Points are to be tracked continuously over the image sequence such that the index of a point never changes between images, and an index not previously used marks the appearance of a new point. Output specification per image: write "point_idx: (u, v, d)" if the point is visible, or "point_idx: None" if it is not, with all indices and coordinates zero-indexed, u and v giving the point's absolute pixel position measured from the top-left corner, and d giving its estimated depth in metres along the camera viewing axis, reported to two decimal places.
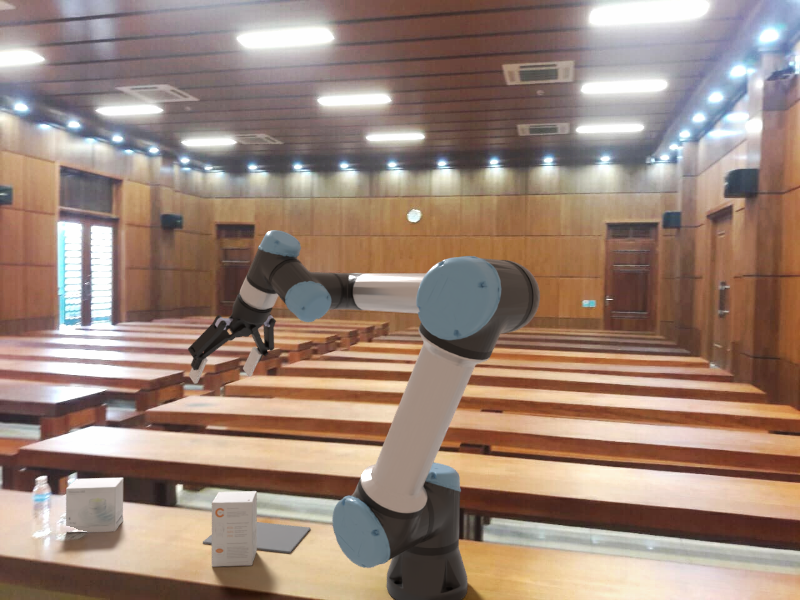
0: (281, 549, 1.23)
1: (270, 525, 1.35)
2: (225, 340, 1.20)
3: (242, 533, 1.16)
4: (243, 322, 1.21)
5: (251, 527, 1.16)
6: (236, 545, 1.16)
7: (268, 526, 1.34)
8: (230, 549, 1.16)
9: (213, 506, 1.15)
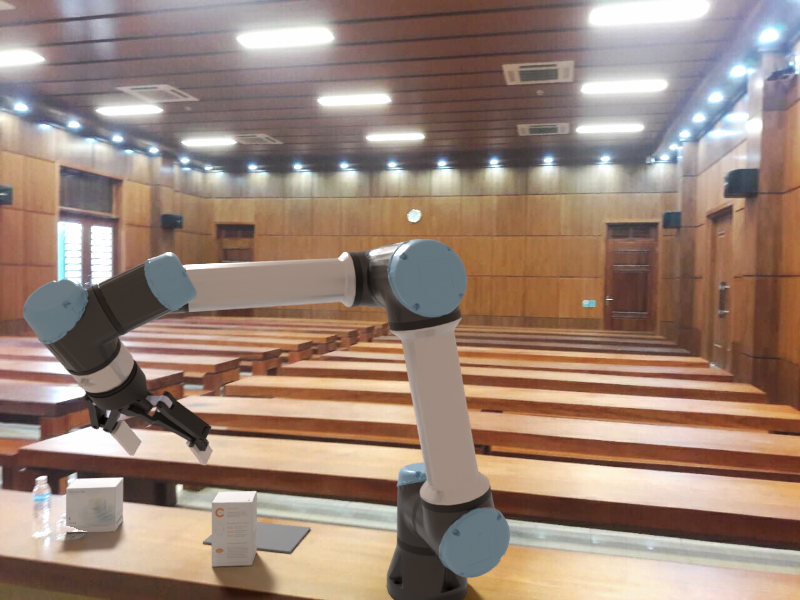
0: (281, 549, 1.23)
1: (270, 525, 1.35)
2: None
3: (242, 533, 1.16)
4: None
5: (251, 527, 1.16)
6: (236, 545, 1.16)
7: (268, 526, 1.34)
8: (230, 549, 1.16)
9: (213, 506, 1.15)
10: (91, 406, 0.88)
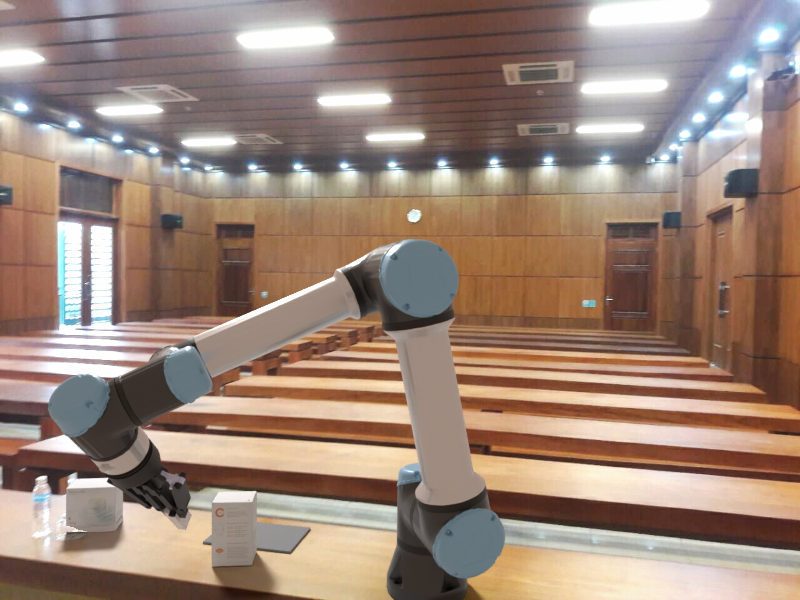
0: (281, 549, 1.23)
1: (270, 525, 1.35)
2: None
3: (242, 533, 1.16)
4: None
5: (251, 527, 1.16)
6: (236, 545, 1.16)
7: (268, 526, 1.34)
8: (230, 549, 1.16)
9: (213, 506, 1.15)
10: (121, 488, 0.92)
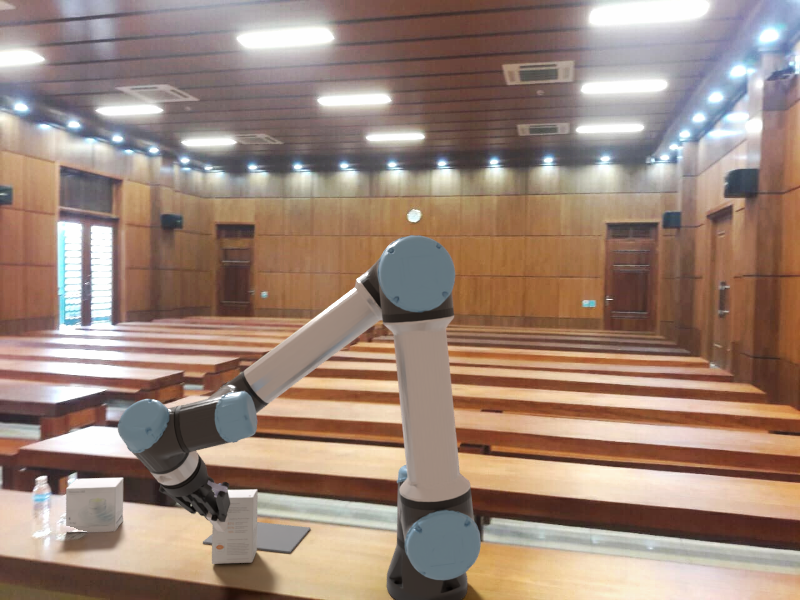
0: (281, 549, 1.23)
1: (270, 525, 1.35)
2: None
3: (242, 529, 1.17)
4: None
5: (252, 523, 1.17)
6: (237, 542, 1.16)
7: (268, 526, 1.34)
8: (230, 546, 1.16)
9: None
10: (170, 495, 1.05)
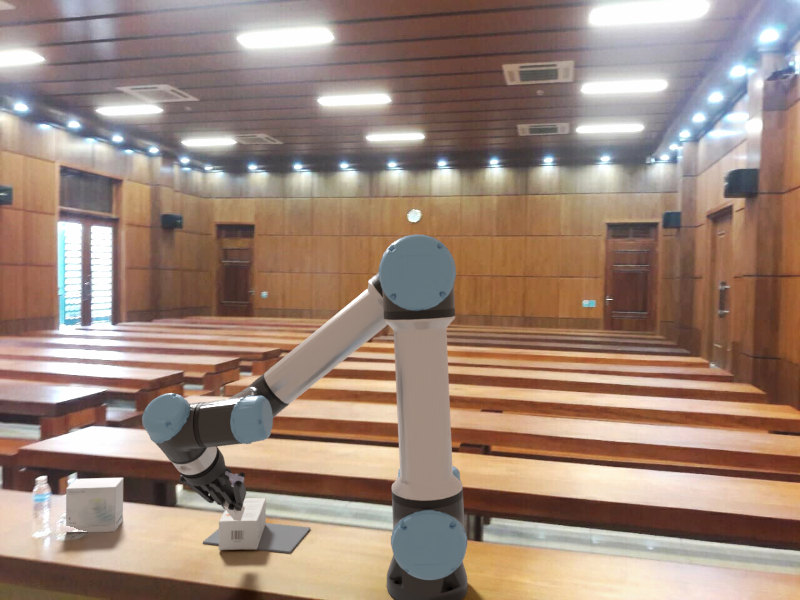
0: (281, 549, 1.23)
1: (270, 525, 1.35)
2: None
3: (252, 508, 1.29)
4: None
5: (261, 506, 1.30)
6: (246, 513, 1.26)
7: (268, 526, 1.34)
8: None
9: None
10: (190, 485, 1.11)
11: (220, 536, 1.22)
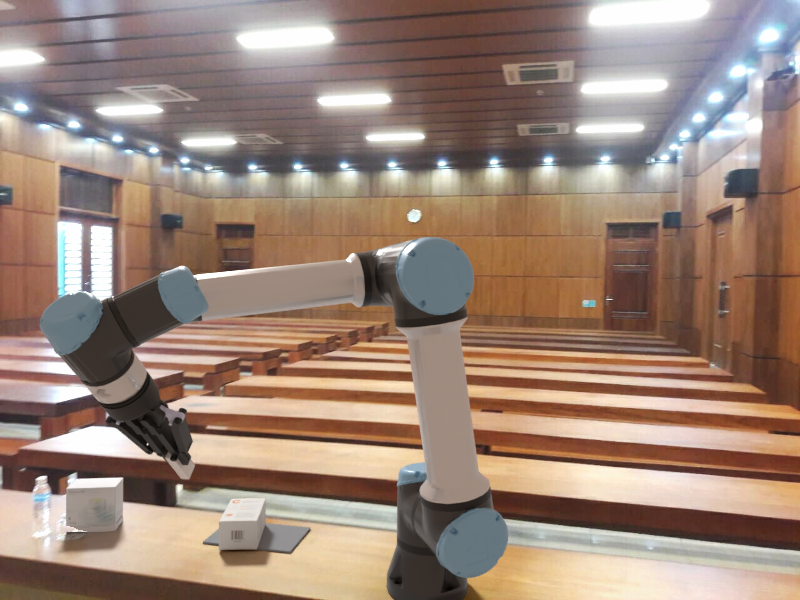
0: (281, 549, 1.23)
1: (270, 525, 1.35)
2: None
3: (252, 508, 1.29)
4: None
5: (261, 506, 1.30)
6: (246, 513, 1.26)
7: (268, 526, 1.34)
8: (239, 514, 1.25)
9: (232, 499, 1.34)
10: (120, 428, 0.90)
11: (220, 536, 1.22)
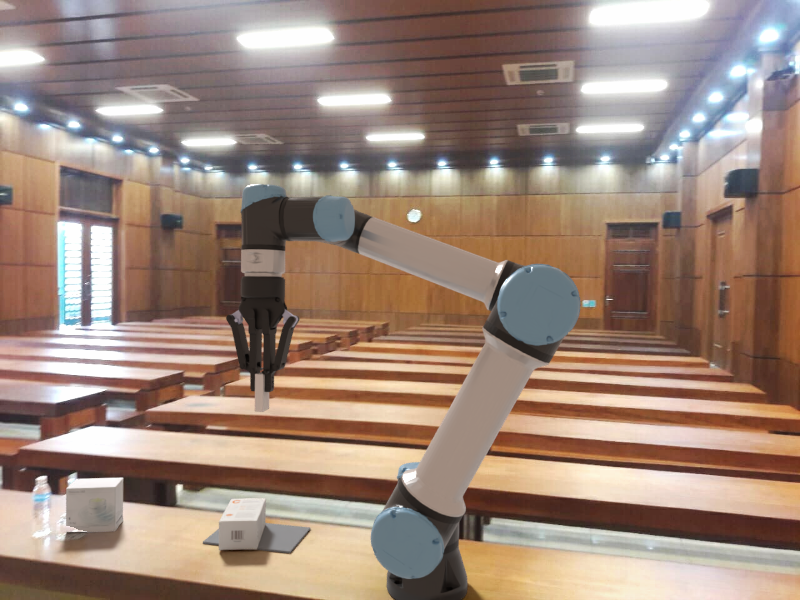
0: (281, 549, 1.23)
1: (270, 525, 1.35)
2: None
3: (252, 508, 1.29)
4: None
5: (261, 506, 1.30)
6: (246, 513, 1.26)
7: (268, 526, 1.34)
8: (239, 514, 1.25)
9: (232, 499, 1.34)
10: (234, 327, 1.01)
11: (220, 536, 1.22)
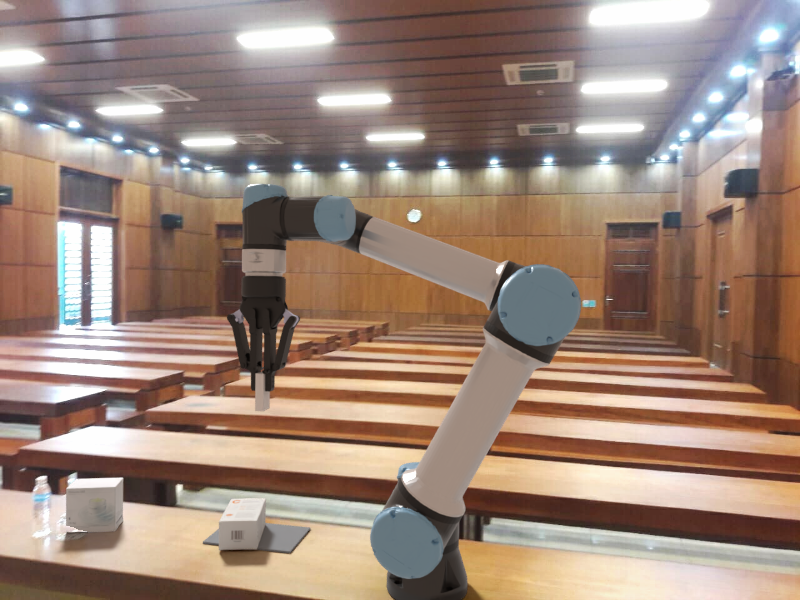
0: (281, 549, 1.23)
1: (270, 525, 1.35)
2: None
3: (252, 508, 1.29)
4: None
5: (261, 506, 1.30)
6: (246, 513, 1.26)
7: (268, 526, 1.34)
8: (239, 514, 1.25)
9: (232, 499, 1.34)
10: (235, 327, 1.01)
11: (220, 536, 1.22)
